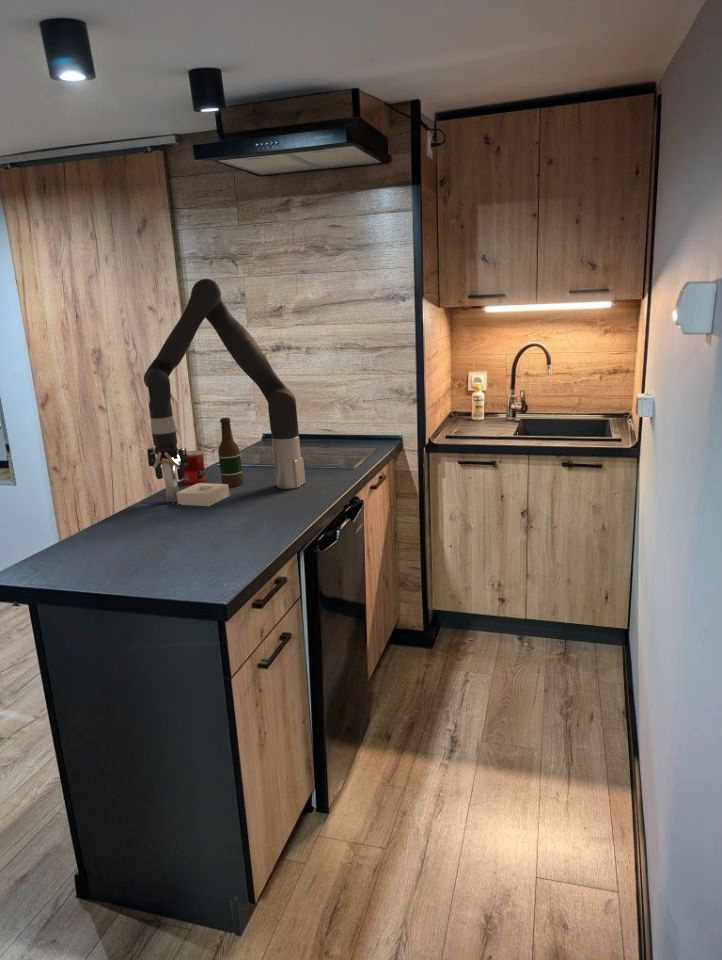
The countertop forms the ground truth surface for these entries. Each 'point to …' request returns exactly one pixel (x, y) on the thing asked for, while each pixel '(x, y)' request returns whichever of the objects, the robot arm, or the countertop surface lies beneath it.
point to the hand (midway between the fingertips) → (170, 479)
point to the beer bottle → (229, 457)
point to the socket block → (203, 494)
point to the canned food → (195, 468)
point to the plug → (170, 480)
